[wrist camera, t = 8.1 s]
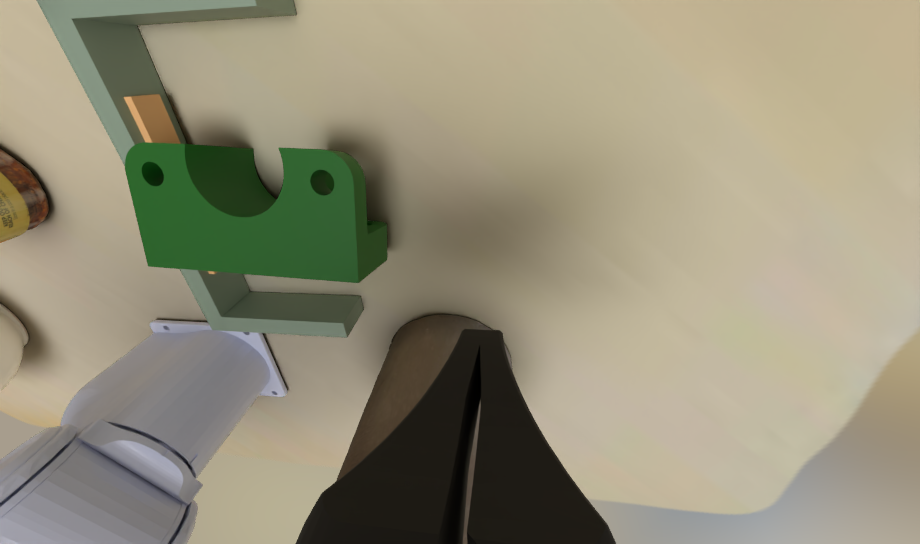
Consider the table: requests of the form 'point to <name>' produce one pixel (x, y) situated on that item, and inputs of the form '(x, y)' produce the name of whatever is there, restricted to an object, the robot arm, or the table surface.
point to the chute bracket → (179, 140)
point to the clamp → (254, 213)
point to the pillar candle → (410, 385)
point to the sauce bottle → (19, 199)
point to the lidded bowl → (10, 345)
